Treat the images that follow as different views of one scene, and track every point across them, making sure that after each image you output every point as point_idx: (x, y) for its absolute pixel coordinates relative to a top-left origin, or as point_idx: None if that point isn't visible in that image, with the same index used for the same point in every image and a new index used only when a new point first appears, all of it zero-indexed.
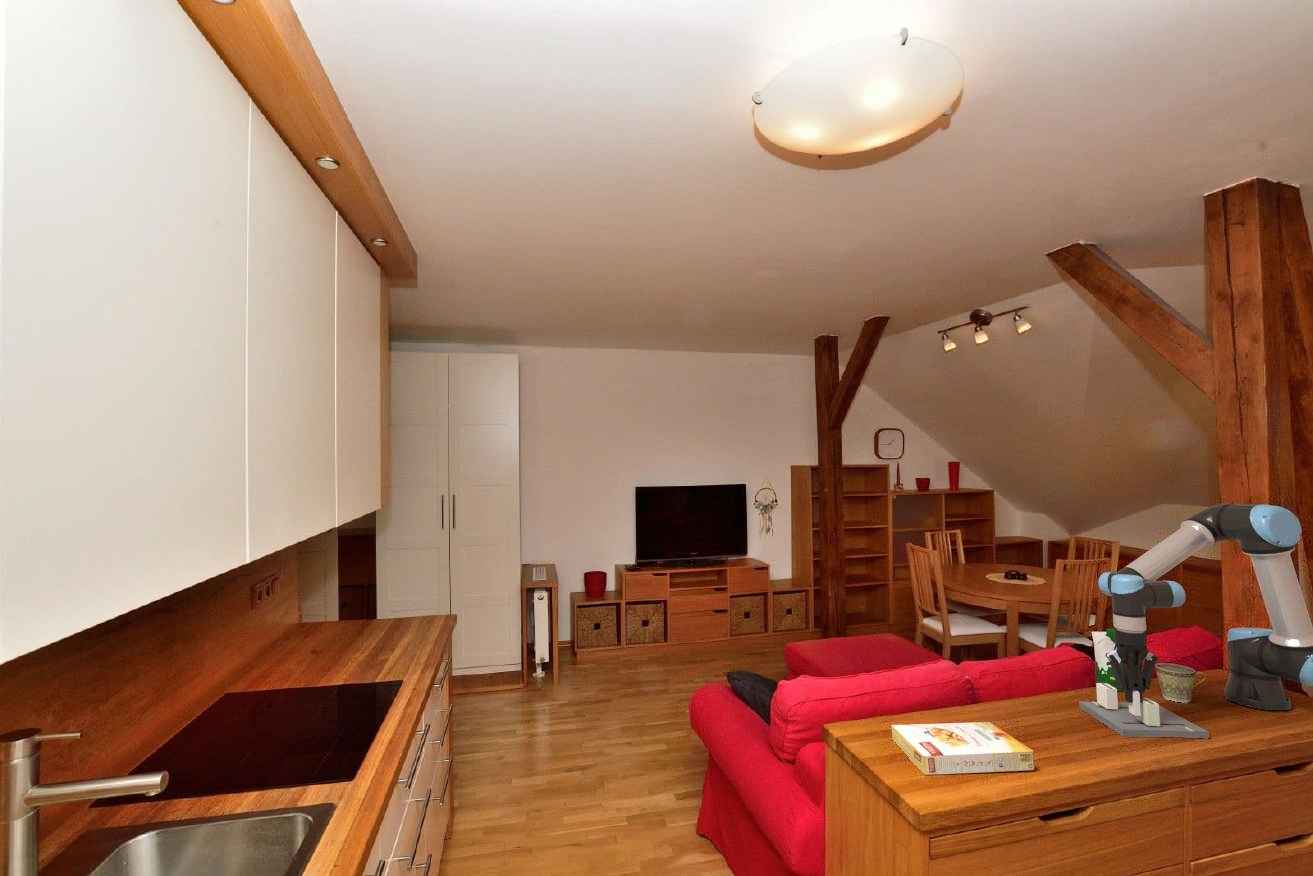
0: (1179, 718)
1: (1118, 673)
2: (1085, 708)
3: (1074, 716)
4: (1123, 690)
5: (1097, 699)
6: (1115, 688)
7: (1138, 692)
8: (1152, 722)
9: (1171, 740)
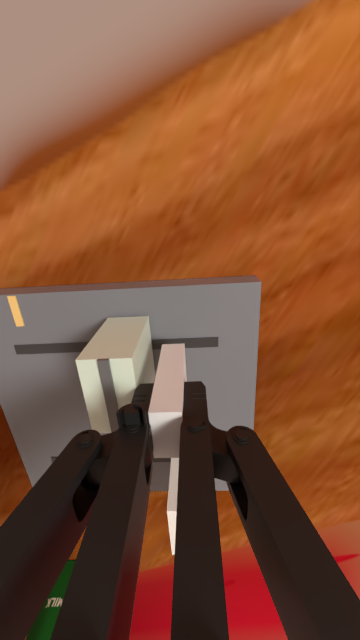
0: (10, 398)
1: (323, 553)
2: None
3: (303, 419)
4: (71, 563)
5: None
6: (169, 515)
7: (153, 413)
8: (131, 321)
9: (102, 265)
